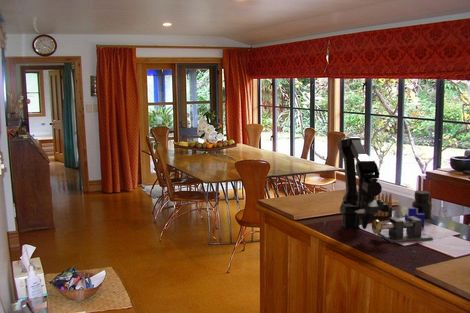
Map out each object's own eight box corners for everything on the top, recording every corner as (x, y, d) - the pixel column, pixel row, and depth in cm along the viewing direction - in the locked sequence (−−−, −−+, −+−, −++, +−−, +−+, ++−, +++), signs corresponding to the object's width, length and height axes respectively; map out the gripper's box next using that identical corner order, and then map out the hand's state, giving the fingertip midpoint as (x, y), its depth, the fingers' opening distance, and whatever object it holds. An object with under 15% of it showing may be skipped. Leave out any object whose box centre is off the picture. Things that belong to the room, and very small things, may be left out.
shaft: (377, 235, 204) (378, 221, 203) (371, 231, 209) (371, 218, 209) (415, 233, 207) (415, 219, 206) (408, 229, 212) (408, 216, 212)
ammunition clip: (391, 217, 240) (391, 192, 238) (392, 218, 238) (393, 193, 237) (368, 217, 240) (369, 192, 239) (369, 218, 239) (370, 193, 237)
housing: (391, 242, 202) (392, 223, 201) (377, 233, 214) (378, 216, 213) (432, 239, 205) (433, 221, 204) (416, 231, 217) (417, 214, 216)
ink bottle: (411, 213, 247) (412, 189, 245) (431, 215, 244) (432, 190, 242) (411, 218, 238) (412, 193, 236) (431, 220, 235) (432, 194, 233)
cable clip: (404, 220, 235) (405, 207, 234) (414, 220, 235) (415, 207, 234) (413, 227, 223) (414, 214, 223) (423, 227, 223) (424, 214, 223)
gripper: (351, 196, 194) (350, 235, 196) (396, 194, 197) (395, 233, 199) (340, 190, 205) (339, 227, 207) (383, 188, 208) (382, 225, 210)
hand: (364, 228), depth 206 cm, fingers closed
